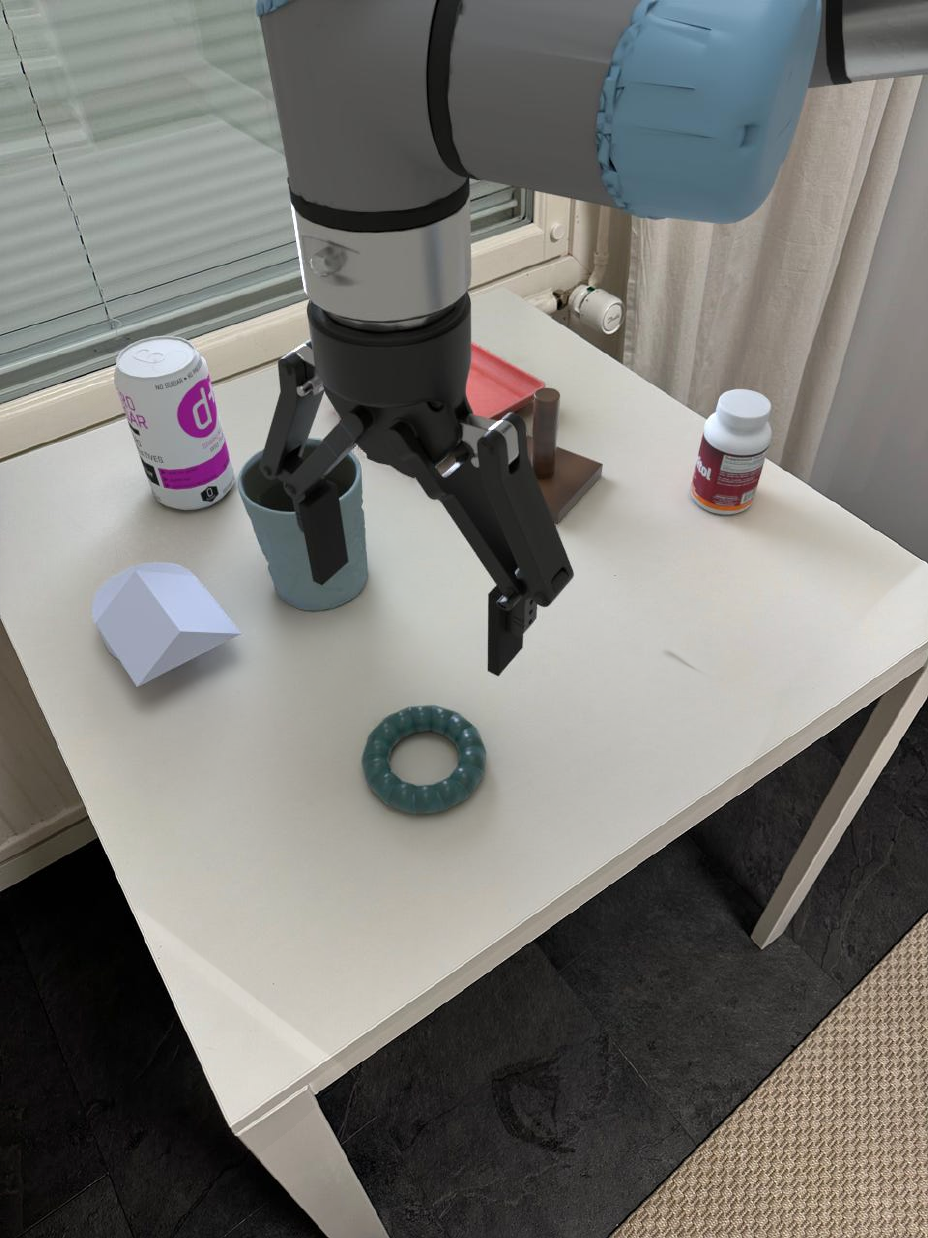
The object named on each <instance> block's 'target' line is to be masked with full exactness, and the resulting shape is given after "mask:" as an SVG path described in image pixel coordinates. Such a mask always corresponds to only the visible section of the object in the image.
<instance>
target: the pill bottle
mask: <svg viewBox="0 0 928 1238" xmlns="http://www.w3.org/2000/svg"><path fill="white" fill-rule="evenodd" d="M771 412H772V404H771V401H770V400H769V399H768V397H766V396H765V395H764V394H762V393H760V392H758V391H755V390H750V389H746V388H736V389H731V390H730V389H729V390H727V391H725V392H723V393H722V394H721V395H720V396H719V399H718V401H717V405H716V407H715V411H714V412H713V413H712V414H710V416H709V417H707V419H706V420H705V422H704V427H703V429H702V435H701V438H700V444H699V448H698V451H697V452H698V453H697V457H696V462H695V466H694V471H693V476H692V479H691V485H690V494H691V498H692V499H693V501H694V502H695V503H696V504H697V505H698V506H699V507H700V508H702V509H703V510H705V511H708V512H709V513H712V514H716V515H735V514H739V513H742V512H744V511H745V510H747V509H749V507H750V506H751V505H752V503H753V501H754V499H755V496H756V491H757V488H758V485H759V483H760V482H759V481H760V478H761V476H762V475H761V474H762V471H763V468H764V464H765V461H766V458H767V454H768V450H769V448H770V444H771V440H772V436H773V435H772V433H773V431H772V426H771V425H770V423H769V419H770V416H771Z"/></svg>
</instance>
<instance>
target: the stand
mask: <svg viewBox="0 0 928 1238" xmlns="http://www.w3.org/2000/svg"><path fill="white" fill-rule="evenodd" d="M560 393H561V392H560V391H559V390H557V389H555V388H553V387H545V388H540V389H538V390H537V391H536V392H535V394H534V399H533V411H532V429H531V435H528V434H527V448H528V457H529V460H530V462H531V465H532V468H533V470H534V473H535V475H536V478H537V480H538V483H539V485H540V488H541V490H542V493H543V495H544V498H545V501H546V503H547V506H548V508H549V511H550V513H551V516H552V518H553V521H554V523H555V524H559V523H560V522H561V521H562V520H563V518H565V516H566V515H568V513H569V512H571V510H572V509H573V508H574V506H575V505H576V504H577V503H578V502H579V501H580V500H581V499H582V498H583V496H585V495H586V493H587V492H588V491H589V490H590V489H591V488H592V487H593V486H594V484H595V483H597V482H598V480H599V479H600V478H601V477H602V476H603V475H602V474H603V468H604V467H603V466H604V464H603V463H602V462H599V461H596V460H593V459H591V458H588V457H586V456H584V455H580V454H578V453H575V452H573V451H570V450H567V449H565V448H562V447H559V446H557V443H558V442H557V441H558V428H559V417H560V403H561V394H560Z"/></svg>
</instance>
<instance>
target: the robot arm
mask: <svg viewBox="0 0 928 1238" xmlns="http://www.w3.org/2000/svg"><path fill="white" fill-rule="evenodd" d="M254 7H255V14H256V18H257V19H259V22H260V28H261V33H262V39H263V44H264V50H265V54H266V59H267V60H266V61H267V65H268V70H269V76H270V82H271V86H272V92H273V97H274V103H275V107H276V113H277V118H278V124H279V130H280V135H281V140H282V146H283V151H284V156H285V162H286V168H287V174H288V176H287V178H286V181H287V184H288V189H289V190H288V191H289V199H290V200H289V201H290V206H291V207H290V208H291V213H292V220H293V226H294V233H295V238H296V239H295V240H296V247H297V251H298V259H299V265H300V273H301V278H302V283H303V290H304V293H305V294H306V296H307V298H308V299H309V300H308V302H307V306H306V316H307V322H308V328H309V329H308V330H309V336H310V339H308V340H307V341H305V342H303V344H301V345H299V346H298V347H297V348H295V349H294V350H292V351H290V352H289V353H287V354H285V355H284V356H282V357H281V358H280V359H278V361H277V371H278V379H279V380H278V381H279V391H280V392H279V396H278V399H277V402H276V406H275V409H274V413H273V417H272V420H271V423H270V426H269V429H268V430H269V431H268V433H267V437H266V441H265V443H264V447H263V449H264V451H263V454H262V458H261V461H260V465H259V468H260V471H261V473H262V474H263V475H264V476H265V477H266V478H267V479H269V480H273V479H275V478H276V477H277V478H278V479H279V480H281V481H282V482H283V483H284V484H283V485H284V489H285V491H286V493H287V494H288V495H289V496H290V497H292V500H293V505H294V510H295V515H296V520H297V524H298V526H299V528H300V530H301V532H303V533H304V536H305V541H306V546H307V552H308V557H309V562H310V567H311V572H312V577H313V581H314V582H316V583H318V584H320V585H323V584H324V583H326V582H327V581H328V580H329V579H330V578H331V577H332V576H333V575H334V574H336V573H337V572H338V571H339V570H340V569H341V568H342V567H343V566H344V565H346V564H347V563H348V562H349V561H348V554H347V547H346V541H345V534H344V527H343V521H342V514H341V508H340V501H339V494H338V488H337V484H335V483H333V482H331V481H328V480H327V481H326V482H325V483H323V484H322V485H321V483H320V480H321V479H322V478H324V477H325V476H326V475H328V474H329V473H330V472H331V471H332V469H333V468H334V467H335V466H336V465H337V464H338V463H339V462H340V461H341V460H342V459H343V458H344V457H345V456H346V455H347V454H348V453H349V452H350V451H351V452H352V451H353V450H354V449H355V448H356V447H357V446H358V448H360V450H361V451H362V452H364V453H365V455H366V459H367V460H369V461H372V462H374V463H377V464H380V465H386V466H390V467H392V468H393V469H394V470H396V471H397V472H399V473H400V474H402V475H404V476H406V477H409V478H411V479H415V480H416V481H417V482H418V484H419V486H420V487H421V489H422V490H423V492H424V493H425V495H426V496H427V497H428V498H429V499H430V500H433V501H439V502H440V503H441V504H442V506H443V507H444V509H445V511H446V512H447V514H448V516H450V518H451V520H452V521H453V522H454V524H455V526H457V528H458V530H459V531H460V533H461V535H462V536H463V537H464V539H465V541H466V542H467V543H468V545H469V546H470V548H471V549H472V550H473V552H474V554H475V555H476V557H477V558H478V559H479V561H480V562H481V564H482V566H483V567H484V569H485V570H486V571H487V573H488V575H489V576H490V577H491V579H492V580H493V582H494V583H495V586H494V587H493V588H492V589H491V590H490V592H488V594H487V672H489V673H490V674H492V675H494V676H496V677H499V676H501V674H502V673H503V671H505V669H506V668H507V667H508V666H509V665H510V664H511V662H512V661H513V660H514V659H515V658H516V656H517V655H518V654H519V653H520V652H521V650H522V649H523V648H524V647H523V646H524V634H525V633H526V632H527V631H528V630H529V629H530V627H531V626H532V625H533V624H534V623H535V621H536V620H537V618H538V616H537V615H538V607H539V606H540V607H541V608H548V607H550V606H551V605H552V603H553V602H554V601H555V600H556V599H557V598H558V596H559V595H560V594H561V593H562V591H563V590H564V589H565V588H566V587H567V586H568V584H569V583H570V582H571V581H572V580H573V579H574V576H575V571H574V569H573V566H572V564H571V562H570V559H569V557H568V554H567V551H566V548H565V546H564V544H563V541H562V539H561V536H560V533H559V531H558V528H557V526H556V523H554V521H553V518H552V516H551V513H550V511H549V508H548V506H547V503H546V501H545V498H544V495H543V493H542V490H541V488H540V485H539V483H538V480H537V478H536V475H535V473H534V470H533V468H532V465H531V462H530V460H529V457H528V448H527V435H528V433H527V424H526V422H525V420H524V418H523V417H522V416H521V415H520V414H518V413H517V412H514V413H513V412H510V413H508V414H507V415H505V416H504V417H503V418H502V419H501V420H500V421H496V420H493V419H489V418H485V417H481V416H478V415H474V414H473V411H472V408H471V406H470V404H469V402H468V399H467V395H466V384H467V379H468V375H469V370H470V365H471V342H472V300H471V297H470V294H469V292H468V289H469V287H470V286H471V284H472V283H471V282H472V234H471V232H472V231H471V230H472V228H471V227H472V226H471V186H470V183H471V182H470V180H474V181H480V182H481V181H487V182H491V183H496V184H499V185H500V184H501V185H506V186H510V187H515V188H520V189H524V190H528V191H533V192H538V193H543V194H547V195H552V196H556V197H561V198H567V199H571V200H575V201H579V202H585V203H589V204H595V205H599V206H604V207H608V208H613V209H616V210H622V211H623V213H628V214H630V215H631V216H632V217H636V218H640V219H649V220H653V221H658V220H664V219H673V220H683V221H691V222H699V223H709V224H717V225H731V224H736V223H738V222H741V221H743V220H745V219H747V218H748V217H750V216H751V215H753V214H754V213H755V212H757V210H758V209H759V208H760V207H761V206H762V205H763V204H764V202H765V201H767V198H768V197H769V195H770V193H771V191H772V190H773V188H774V186H775V184H776V180H777V177H778V175H779V172H780V169H781V166H782V165H783V164H784V162H785V160H786V158H787V155H788V153H789V151H790V148H791V146H792V142H793V139H794V136H795V134H796V130H797V127H798V124H799V121H800V117H801V114H802V111H803V107H804V104H805V100H806V96H807V93H808V90H809V89H815V88H824V87H830V86H841V85H849V84H853V83H857V82H867V81H868V82H869V81H877V80H887V79H888V80H889V79H896V78H897V79H898V78H905V77H917V76H925V75H927V76H928V0H256V3H255V6H254ZM324 393H325V395H326V397H327V399H328V400H329V402H330V403H331V405H332V407H333V408H334V410H335V411H336V413H337V415H338V416H339V418H340V420H339V421H338V423H337V424H336V425H335V426H334V427H333V428H332V429H331V430H330V431H329V432H328V433H327V435H326V436H324V437H323V438H322V439H323V442H322V443H321V444H320V445H319V446H318V447H317V448H316V449H315V450H314V451H313V453H312V454H311V455H310V456H309V457H308V458H307V459H306V460H305V461H304V460H303V459H302V458H301V456H302V454H303V451H304V448H305V445H306V442H307V439H308V438H310V437H309V436H310V433H311V432H312V427H313V425H314V422H315V419H316V418H317V417H316V416H317V413H318V411H319V408H320V405H321V402H322V400H323V397H324ZM450 455H452V457H453V458H454V464H453V465H452V466H451V467H450V468H448V469H447V470H446V471H445V472H444V473H442V474H441V473H440V471H439V470H438V468H437V467H438V466H440V465H441V464H442V463H443V462H444V461H445V460H446V459H447V458H448V457H449V456H450Z"/></svg>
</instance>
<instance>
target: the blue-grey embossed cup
mask: <svg viewBox="0 0 928 1238" xmlns="http://www.w3.org/2000/svg"><path fill="white" fill-rule="evenodd" d="M323 439H324V438H319V437H317V438H316V437H308V439H307V442H306V445H305V448H304V451H303V454H302V456H301V458H302V459H303V460H304V461H305V460H306V459H307V458H308V457H309V456H310V455H311V454H312V453H313V451H314V450H315V449H316V448H317V447H318V446H319V445H320V444H321V443H322V442H323ZM263 451H264V448H262V449H260V450H259V451H257V452H256V453H255V454H253V455H252V456H250V458H249V459H248V460H247V461H246V462H244V464H243V465H242V467H241V469H240V470H239V474H238V477H237V489H238V493H239V496H240V499H241V500H242V501H241V502H242V503H243V506H244V508H245V511H246V514H247V515H248V518H249V519H250V522H251V525H252V528H253V532H254V534H255V536H256V539H257V542H258V545H259V547H260V550H261V553H262V555H263V556H264V558H265V560H266V562H267V570H268V573H269V576H270V578H271V581H272V584H273V586H274V589H275V592H276V593H277V594H278V596H279V597H280V598H281V599H282V600H283V601H284V602H285V603H286V604H288V605H290V606H291V607H294V608H296V609H300V610H304V611H312V612H320V611H326V610H331V609H334V608H337V607H340V606H342V605H344V604H346V603H348V602H350V601H352V600H353V599H354V598H356V597H357V596H358V595H359V594H360V593H361V592H362V590H363V589H364V587H365V585H366V582H367V579H368V555H367V554H368V553H367V540H366V527H365V526H366V519H365V511H364V509H363V507H362V506H363V503H364V499H363V471H362V466H361V462H360V460H359V458H358V457H357V456H356V454H355V453H353V452H352V450H351V451H350V452H349V453H348V454H347V455H346V456H345V457H344V458H343V459H342V460H341V461H340V462H339V463H338V464H337V465H336V466H335V467H334V468H333V469H332V471H331V472H330V473H329V474H328V475H326V476H325V477H324V478H322V479H321V480H320V483H321V485H322V484H323V483H325V482H326V481H327V480H328V481H331V482H333V483H335V484H337V488H338V494H339V501H340V508H341V514H342V521H343V527H344V534H345V541H346V547H347V554H348V561H349V562H348V563H347V564H346V565H344V566H343V567H342V568H341V569H340V570H339V571H338V572H337V573H336V574H334V575H333V576H332V577H331V578H330V579H329V580H328V581H327V582H326V583H324V584H323V585H320V584H318V583H316V582H314V581H313V577H312V572H311V567H310V562H309V557H308V552H307V546H306V541H305V536H304V533H303V532H301V530H300V528H299V526H298V524H297V520H296V515H295V510H294V505H293V500H292V497H290V496H289V495H288V494H287V493H286V491H285V489H284V485H283V484H284V483H283V482H282V481H281V480H279V479H278V478H277V477H276V478H275V479H273V480H269V479H267V478H266V477H265V476H264V475H263V474H262V473H261V471H260V468H259V465H260V461H261V458H262V454H263Z"/></svg>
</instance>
